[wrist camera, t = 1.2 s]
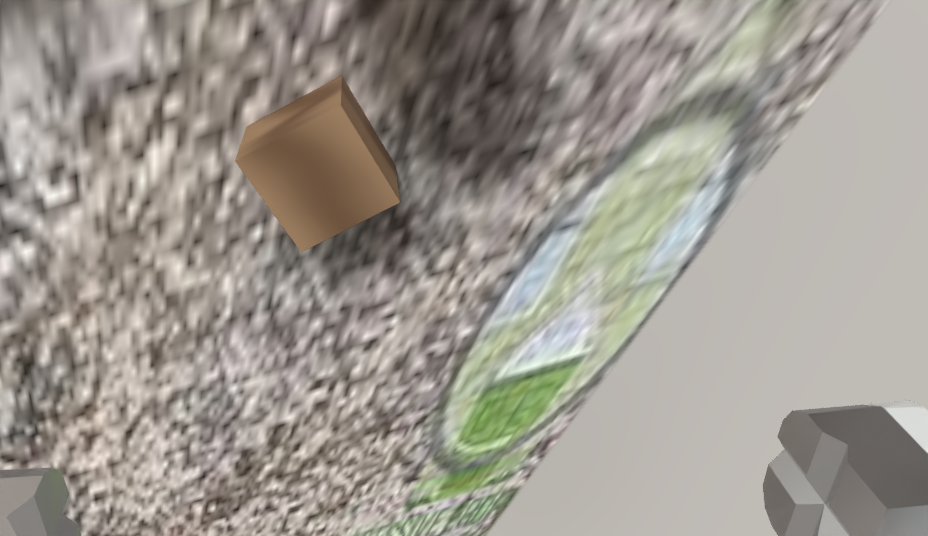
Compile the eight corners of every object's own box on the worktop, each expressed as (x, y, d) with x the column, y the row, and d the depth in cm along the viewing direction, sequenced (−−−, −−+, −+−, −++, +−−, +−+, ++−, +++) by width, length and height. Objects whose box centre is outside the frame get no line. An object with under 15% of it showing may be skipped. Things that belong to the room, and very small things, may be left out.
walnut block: (341, 75, 37) (340, 105, 34) (395, 164, 40) (400, 202, 36) (246, 125, 38) (235, 161, 34) (305, 210, 41) (301, 252, 37)
